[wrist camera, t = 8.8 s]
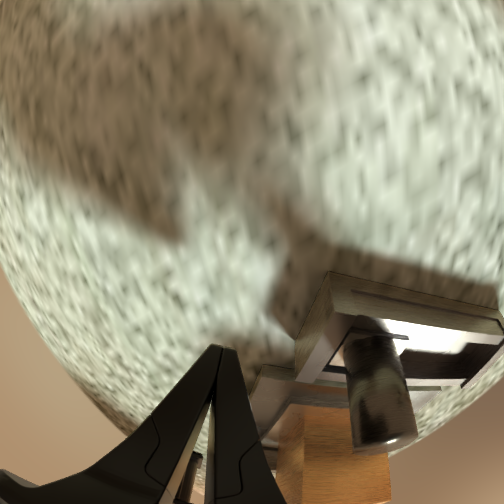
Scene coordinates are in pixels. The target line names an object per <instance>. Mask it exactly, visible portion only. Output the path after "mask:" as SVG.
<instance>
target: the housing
mask: <svg viewBox="0 0 504 504" xmlns="http://www.w3.org/2000/svg"><path fill="white" fill-rule="evenodd" d="M275 481H276V483H277V485H278V487H279V489H280V491H281V493H282V495H283V497H284V499H285V501H286V503H287V504H382V503H385V502H388V501H391V485H390V472H389V462H388V453H383V454H378V455H371V456H360V455H355V454H354V453H353V451H352V436H351V423H350V418H333V417H318V416H307V415H304V416H303V418H302V419H301V420H300V421H299V422H298V423H297V424H296V425H295V426H294V427H293V428H292V429H291V431H290V432H289V433H288V434H287V435H286V436H285V437H284V438H283V439H282V440H281V441H280V442H279V443H278V455H277V467H276V479H275Z"/></svg>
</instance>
